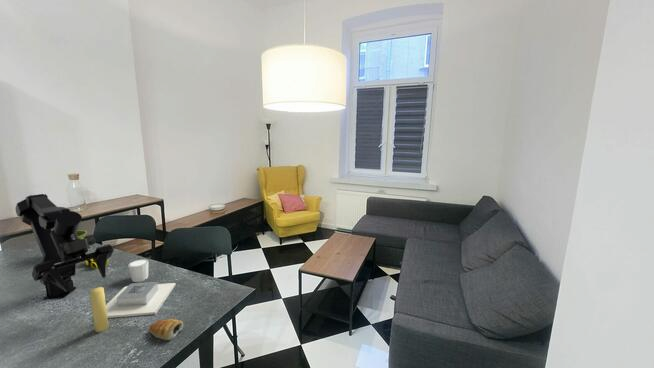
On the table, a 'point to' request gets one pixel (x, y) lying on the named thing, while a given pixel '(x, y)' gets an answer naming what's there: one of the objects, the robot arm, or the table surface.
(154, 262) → the table surface
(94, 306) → the pin
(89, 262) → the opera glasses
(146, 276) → the white short cylinder
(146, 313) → the base plate
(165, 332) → the pastry
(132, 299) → the metal collar
